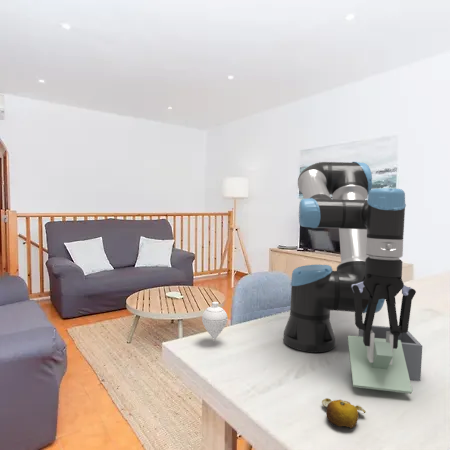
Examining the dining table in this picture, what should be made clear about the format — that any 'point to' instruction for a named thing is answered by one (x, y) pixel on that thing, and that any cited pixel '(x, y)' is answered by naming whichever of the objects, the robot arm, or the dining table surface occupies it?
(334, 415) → the fruit
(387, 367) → the lid
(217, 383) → the dining table surface
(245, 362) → the dining table surface
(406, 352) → the storage box
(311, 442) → the dining table surface
